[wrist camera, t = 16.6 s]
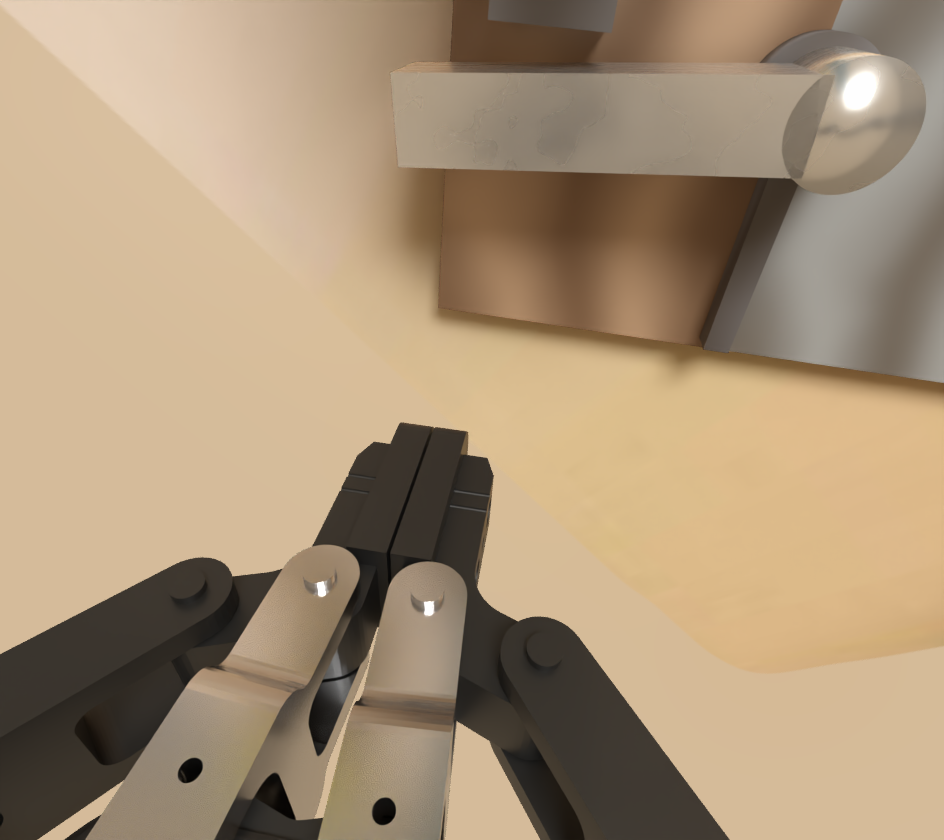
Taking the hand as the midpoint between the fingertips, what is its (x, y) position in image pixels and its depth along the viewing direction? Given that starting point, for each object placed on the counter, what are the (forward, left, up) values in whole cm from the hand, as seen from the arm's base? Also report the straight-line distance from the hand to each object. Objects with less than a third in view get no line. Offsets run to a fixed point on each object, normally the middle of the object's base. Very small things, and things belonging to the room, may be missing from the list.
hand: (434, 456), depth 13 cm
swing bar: (-4, -5, -16) cm, 17 cm away
